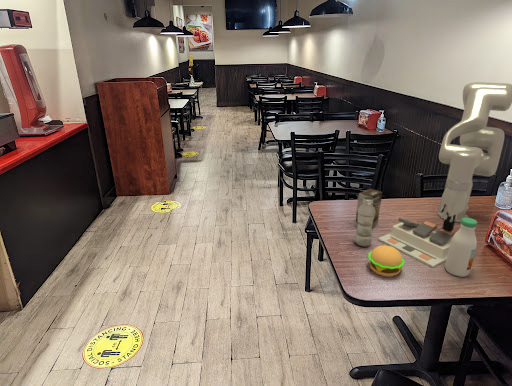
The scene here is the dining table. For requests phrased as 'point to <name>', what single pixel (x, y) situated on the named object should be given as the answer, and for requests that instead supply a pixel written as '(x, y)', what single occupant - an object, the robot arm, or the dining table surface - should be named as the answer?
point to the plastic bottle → (365, 222)
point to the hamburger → (386, 261)
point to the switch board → (414, 253)
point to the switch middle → (425, 229)
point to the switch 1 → (409, 222)
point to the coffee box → (376, 204)
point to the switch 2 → (441, 236)
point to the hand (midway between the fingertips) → (447, 229)
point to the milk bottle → (462, 249)
